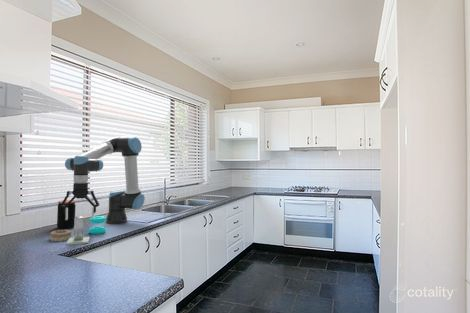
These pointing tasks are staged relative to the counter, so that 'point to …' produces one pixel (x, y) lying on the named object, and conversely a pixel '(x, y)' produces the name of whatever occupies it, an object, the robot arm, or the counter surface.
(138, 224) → the counter surface
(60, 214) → the coffee jar
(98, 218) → the donuts
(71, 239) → the board
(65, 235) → the collar
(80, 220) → the plug
